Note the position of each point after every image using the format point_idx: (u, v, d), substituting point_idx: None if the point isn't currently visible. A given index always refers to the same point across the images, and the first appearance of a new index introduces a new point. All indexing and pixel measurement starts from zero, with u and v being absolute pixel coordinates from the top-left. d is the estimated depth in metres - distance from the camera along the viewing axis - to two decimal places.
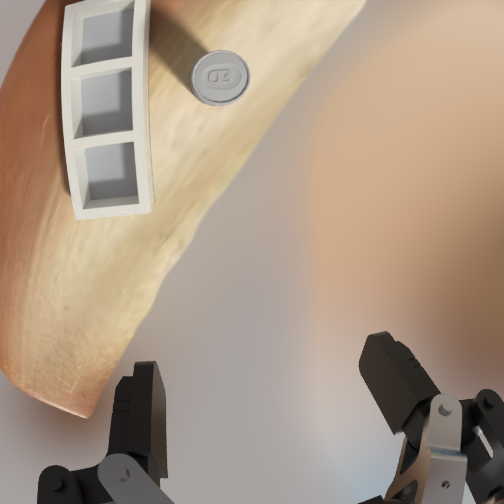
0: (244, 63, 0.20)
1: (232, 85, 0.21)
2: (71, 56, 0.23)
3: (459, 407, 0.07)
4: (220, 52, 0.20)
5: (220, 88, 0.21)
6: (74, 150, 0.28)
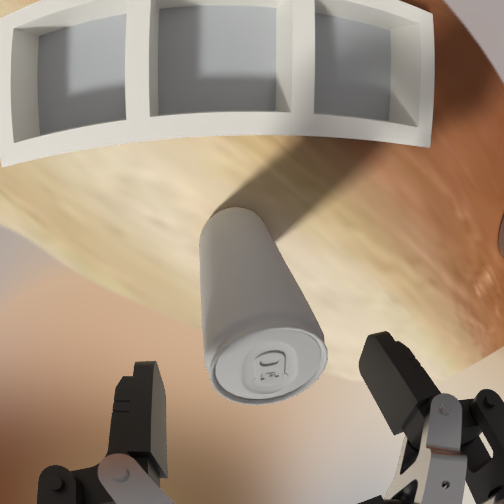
0: (294, 392, 0.12)
1: (250, 385, 0.11)
2: None
3: (459, 407, 0.07)
4: (322, 359, 0.11)
5: (244, 371, 0.11)
6: None
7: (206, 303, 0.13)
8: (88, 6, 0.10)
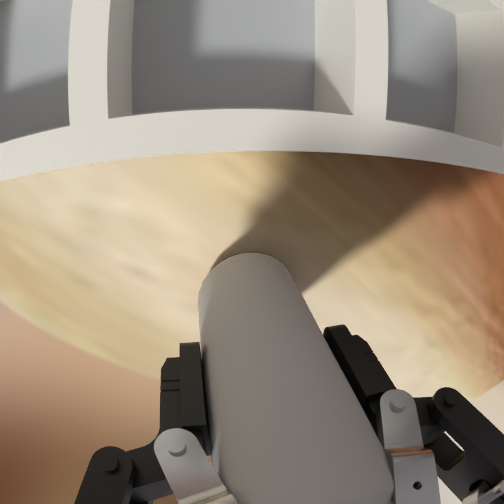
0: None
1: None
2: None
3: (413, 404, 0.07)
4: None
5: None
6: None
7: (219, 450, 0.07)
8: None
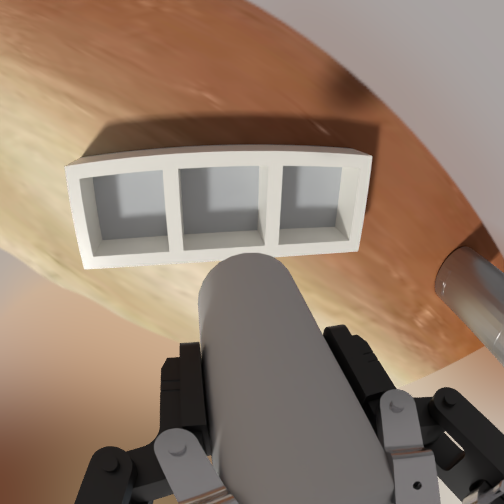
0: None
1: None
2: None
3: (412, 404, 0.07)
4: None
5: None
6: (162, 169, 0.22)
7: (219, 450, 0.07)
8: None
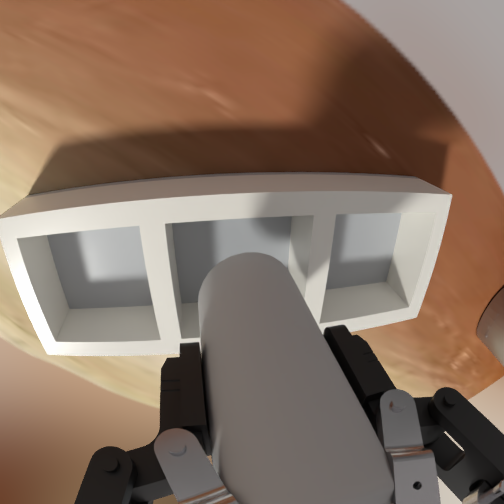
0: None
1: None
2: None
3: (412, 404, 0.07)
4: None
5: None
6: (139, 225, 0.13)
7: (219, 449, 0.07)
8: None
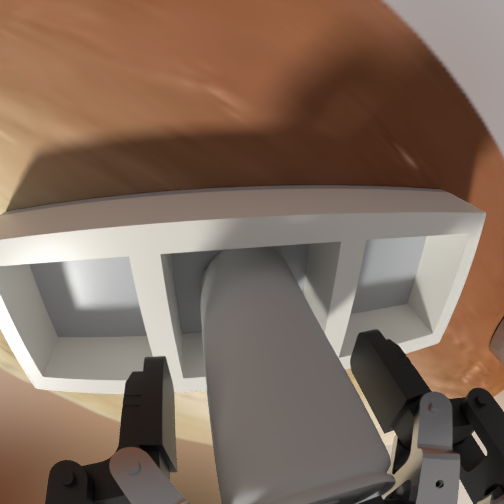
0: None
1: None
2: None
3: (449, 406, 0.07)
4: (384, 488, 0.06)
5: None
6: (128, 255, 0.11)
7: (218, 421, 0.07)
8: None
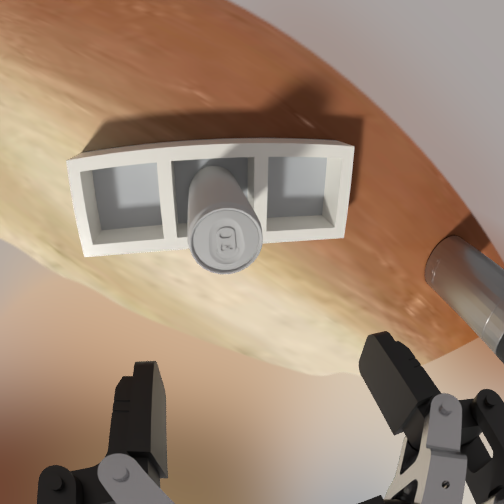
0: (245, 265, 0.20)
1: (215, 255, 0.19)
2: None
3: (459, 407, 0.07)
4: (259, 238, 0.19)
5: (211, 242, 0.19)
6: (156, 162, 0.24)
7: (190, 210, 0.21)
8: None
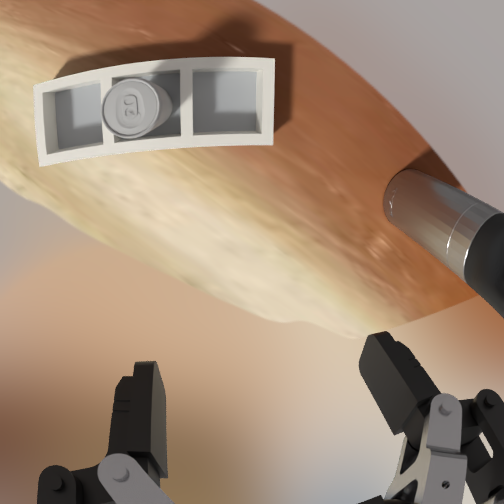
0: (145, 129, 0.20)
1: (121, 121, 0.19)
2: (206, 68, 0.26)
3: (459, 407, 0.07)
4: (157, 103, 0.19)
5: (117, 109, 0.19)
6: (100, 79, 0.24)
7: None
8: (81, 83, 0.24)
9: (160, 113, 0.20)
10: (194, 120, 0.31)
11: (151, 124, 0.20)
